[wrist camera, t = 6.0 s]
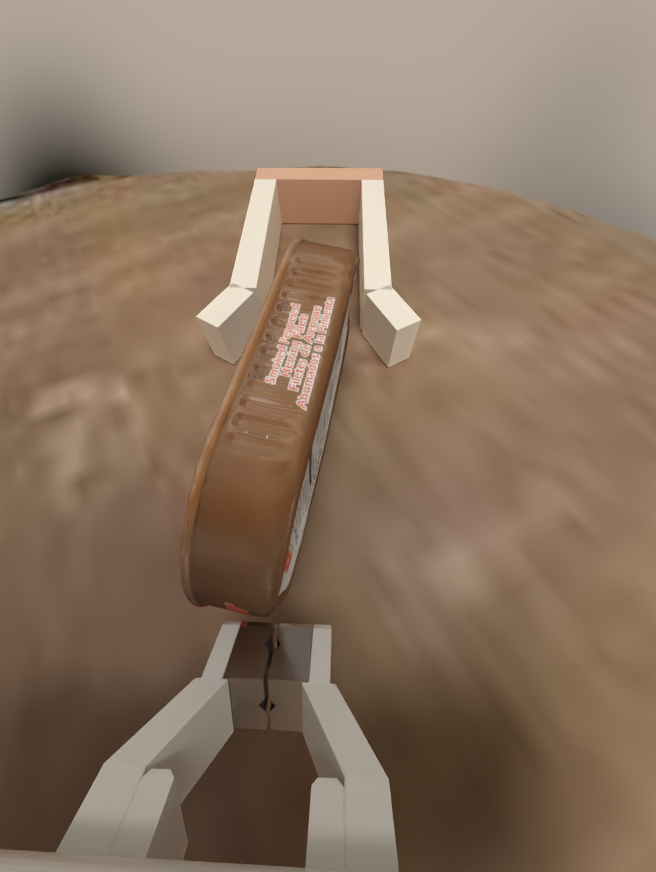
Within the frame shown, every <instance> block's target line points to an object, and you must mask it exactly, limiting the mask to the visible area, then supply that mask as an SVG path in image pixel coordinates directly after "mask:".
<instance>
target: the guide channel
mask: <svg viewBox="0 0 656 872" xmlns="http://www.w3.org/2000/svg"><path fill="white" fill-rule="evenodd" d="M282 223H314V224H358V227H359V258H360V266H359V288H360V329H362V335H363V336H364V337H365V339H366V340H367V341H368V343H369V344H370V345H371V346H372V348H373V349H374V350H375V352H376V353H377V354H378V355H379V357H380V358H381V359H382V361H383V362H384V363H385V364H386V366H387V367H390V366H393V365H395V364H397V363H399V362H401V361H403V360H406V359H408V358H409V356H410V353H411V350H412V347H413V344H414V341H415V338H416V335H417V332H418V329H419V325H420V322H421V319H420V318H419V317H418V316H417V315H416V313H415V312H414V311H413V310H412V309H411V308H410V307H409V306H408V305H407V304H406V302H405V301H404V300H403V299H402V298H401V297H400V296H399V295H398V294H397V292H396V291H395V290H394V289H393V288H392V286H391V273H390V261H389V248H388V235H387V223H386V210H385V198H384V185H383V172H382V169H375V168H374V169H371V168H369V169H368V168H365V169H364V168H258V169H257V173H256V178H255V182H254V186H253V190H252V194H251V199H250V203H249V207H248V211H247V215H246V219H245V224H244V228H243V232H242V236H241V240H240V245H239V249H238V253H237V257H236V261H235V265H234V270H233V274H232V278H231V282H230V285H229V286H228V287H227V288H226V289H225V290H224V291H223V292H222V293H221V294H220V295H218V296H217V297H216V298H215V299H214V300H213V301H212V302H211V303H210V304H209V305H208V306H207V307H206V308H204V309H203V310H202V311H201V312H200V313H199V314H198V315H197V316H196V318H197V320H198V322H199V324H200V326H201V328H202V330H203V332H204V334H205V336H206V338H207V341H208V343H209V345H210V347H211V349H212V351H213V353H214V355H216V356H218V357H220V358H222V359H224V360H226V361H227V362H229V363H231V364H233V365H234V364H235V363H236V361H237V360H238V359H239V358H240V357H241V356H242V353H243V350H244V348H245V346H246V344H247V341H248V339H249V337H250V334H251V332H252V330H253V327H254V325H255V322H256V320H257V317H258V315H259V313H260V311H261V308H262V305H263V303H264V301H265V298H266V296H267V294H268V291H269V289H270V287H271V284H272V282H273V279H274V272H275V266H276V259H277V253H278V246H279V240H280V234H281V227H282Z"/></svg>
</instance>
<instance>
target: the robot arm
mask: <svg viewBox="0 0 656 872" xmlns="http://www.w3.org/2000/svg"><path fill="white" fill-rule="evenodd" d="M331 633H332V628H331V625H315V624H289V623H280V625H279V627H278V628H277V624H273V623H259V622H245V621H243V622H242V621H225V622H224V623H223V625H222V626H221V628H220V631H219V634H218V636H217V639H216V641H215V644H214V646H213V649H212V651H211V654H210V656H209V659H208V661H207V664H206V666H205V669H204V671H203V674H202V676H201V678H195V679H194V680H192V681H191V682H190V683H189V684H188V685H187V686H186V687H185V688H184V689H183V690H182V691H181V692H180V693H179V694H177V695H176V696H175V697H174V698H173V699H172V700H171V701H170V702H169V703H168V704H167V705H166V706H165V707H164V708H162V709H161V710H160V711H159V712H158V713H157V714H156V715H155V716H154V717H153V718H152V719H151V720H150V721H149V722H147V723H146V724H145V725H144V726H143V727H142V728H141V729H140V730H139V731H138V732H137V733H136V734H135V735H134V736H133V737H131V738H130V739H129V740H128V741H127V742H126V743H125V744H124V745H123V746H122V747H121V748H120V749H119V750H118V751H116V752H115V753H114V754H113V755H112V756H111V757H110V758H109V759H108V760H107V761H106V762H105V763H104V764H103V766H102V768H101V769H100V771H99V773H98V775H97V777H96V779H95V781H94V782H93V784H92V786H91V788H90V790H89V792H88V793H87V795H86V797H85V799H84V801H83V803H82V804H81V806H80V808H79V810H78V812H77V814H76V816H75V817H74V819H73V821H72V823H71V825H70V827H69V828H68V830H67V832H66V834H65V836H64V838H63V839H62V841H61V843H60V845H59V847H58V849H57V850H56V852H41V851H25V850H8V849H0V872H399V867H398V858H397V849H396V840H395V831H394V822H393V812H392V803H391V794H390V785H389V779H388V777H387V775H386V773H385V772H384V770H383V768H382V766H381V765H380V763H379V761H378V759H377V757H376V756H375V754H374V752H373V750H372V748H371V747H370V745H369V743H368V741H367V739H366V738H365V736H364V734H363V732H362V730H361V729H360V727H359V725H358V723H357V721H356V720H355V718H354V716H353V714H352V713H351V711H350V709H349V707H348V705H347V704H346V702H345V700H344V698H343V696H342V695H341V693H340V691H339V689H338V687H337V686H336V684H330V672H331ZM276 640H277V643H276ZM269 713H270V723H271V730H283V731H295V732H303V736H304V738H305V741H306V744H307V747H308V749H309V752H310V755H311V758H312V760H313V763H314V766H315V769H316V771H317V774H318V777H319V778H317V779H316V780H315V781H314V783H313V784H312V785H311V798H310V812H309V825H308V839H307V853H306V866H305V868H301V867H285V866H269V865H252V864H236V863H220V862H204V861H188V860H183V859H184V856H185V852H186V849H187V845H188V839H187V834H186V830H185V825H184V820H183V816H182V811H181V807H180V805H181V803H182V802H183V801H184V799H185V798H186V796H187V795H188V794H189V792H190V791H191V790H192V788H193V787H194V785H195V784H196V783H197V781H198V780H199V779H200V777H201V776H202V774H203V773H204V772H205V770H206V769H207V768H208V766H209V765H210V763H211V762H212V761H213V759H214V758H215V757H216V755H217V754H218V752H219V751H220V750H221V748H222V747H223V746H224V744H225V743H226V741H227V740H228V739H229V737H230V736H231V734H232V733H233V732H234V729H267V724H268V719H269Z"/></svg>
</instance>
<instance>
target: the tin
mask: <svg viewBox="0 0 656 872" xmlns="http://www.w3.org/2000/svg"><path fill="white" fill-rule="evenodd" d="M359 266H360V258H359V256H358V255H357V253H355V252H353V251H350V250H347V249H343V248H339V247H333V246H328V245H323V244H319V243H313V242H309V241H307V240H306V239H304V238H302V237H297V238H295V239H293V240H292V242H291V243H290V244H289V246H288V247H287V249H286V251H285V253H284V255H283V258H282V260H281V262H280V265H279V267H278V270H277V272H276V274H275V277H274V279H273V282H272V284H271V287H270V289H269V291H268V294H267V296H266V298H265V301H264V303H263V305H262V308H261V311H260V313H259V315H258V317H257V320H256V322H255V325H254V327H253V330H252V332H251V334H250V337H249V339H248V341H247V344H246V346H245V348H244V350H243V353H242V356H241V359H240V361H239V363H238V365H237V367H236V370H235V372H234V374H233V376H232V379H231V381H230V384H229V387H228V389H227V391H226V394H225V396H224V398H223V400H222V403H221V405H220V407H219V410H218V412H217V414H216V416H215V418H214V421H213V423H212V426H211V428H210V431H209V434H208V436H207V438H206V441H205V443H204V446H203V449H202V452H201V455H200V458H199V461H198V464H197V468H196V471H195V475H194V479H193V483H192V487H191V491H190V495H189V499H188V502H187V509H186V517H185V522H184V530H183V534H182V546H181V576H182V585H183V590H184V593H185V595H186V596H187V599H188V600H189V601H190V603H192V604H193V605H195V606H198V607H205V606H208V605H210V606H215V607H220V608H224V609H228V610H232V611H236V612H240V613H244V614H248V615H254V616H261V617H265V616H268V615H270V614H271V613H272V612H273V610H274V609H275V608H276V607H277V606H278V605H279V604H280V603H281V602H282V601H283V599H284V598H285V596H286V595H287V592H288V590H289V587H290V584H291V581H292V577H293V574H294V570H295V566H296V563H297V559H298V555H299V552H300V548H301V544H302V540H303V535H304V532H305V528H306V524H307V520H308V515H309V511H310V507H311V503H312V499H313V495H314V491H315V487H316V483H317V479H318V475H319V471H320V467H321V463H322V459H323V454H324V450H325V446H326V442H327V437H328V433H329V428H330V424H331V419H332V415H333V410H334V405H335V400H336V395H337V391H338V386H339V381H340V376H341V372H342V367H343V362H344V357H345V351H346V346H347V340H348V335H349V309H350V301H351V294H352V288H353V283H354V281H355V279H356V277H357V274H358V271H359Z"/></svg>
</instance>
